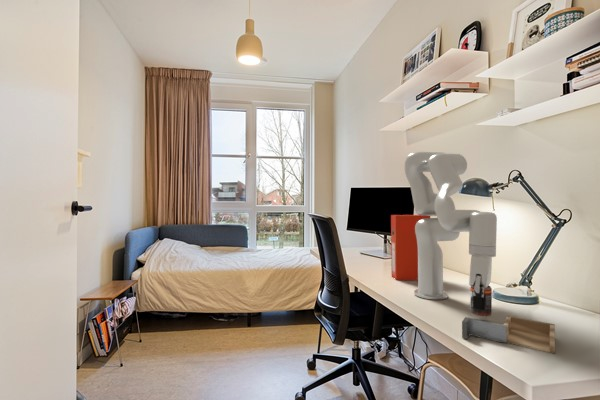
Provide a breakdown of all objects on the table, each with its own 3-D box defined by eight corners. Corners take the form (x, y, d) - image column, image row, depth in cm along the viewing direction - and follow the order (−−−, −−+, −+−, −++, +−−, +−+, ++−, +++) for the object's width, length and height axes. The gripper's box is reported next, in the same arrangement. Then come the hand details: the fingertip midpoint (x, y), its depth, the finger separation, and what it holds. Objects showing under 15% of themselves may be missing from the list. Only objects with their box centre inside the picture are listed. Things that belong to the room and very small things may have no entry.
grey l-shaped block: (465, 332, 90) (465, 317, 90) (506, 342, 84) (506, 325, 84) (462, 337, 87) (462, 321, 87) (504, 348, 81) (504, 330, 81)
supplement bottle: (493, 313, 101) (494, 278, 101) (489, 318, 97) (490, 282, 96) (472, 308, 105) (473, 275, 105) (468, 313, 101) (468, 278, 100)
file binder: (391, 276, 162) (391, 214, 163) (424, 276, 162) (424, 214, 163) (396, 280, 154) (395, 215, 155) (431, 280, 154) (430, 215, 155)
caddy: (507, 329, 93) (507, 315, 93) (554, 338, 86) (554, 324, 86) (502, 341, 85) (502, 326, 85) (554, 353, 78) (554, 337, 78)
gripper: (474, 245, 109) (473, 296, 110) (463, 252, 96) (461, 310, 96) (499, 248, 104) (498, 301, 105) (491, 256, 91) (490, 317, 92)
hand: (480, 305), depth 101 cm, fingers closed on supplement bottle, 6 cm apart
